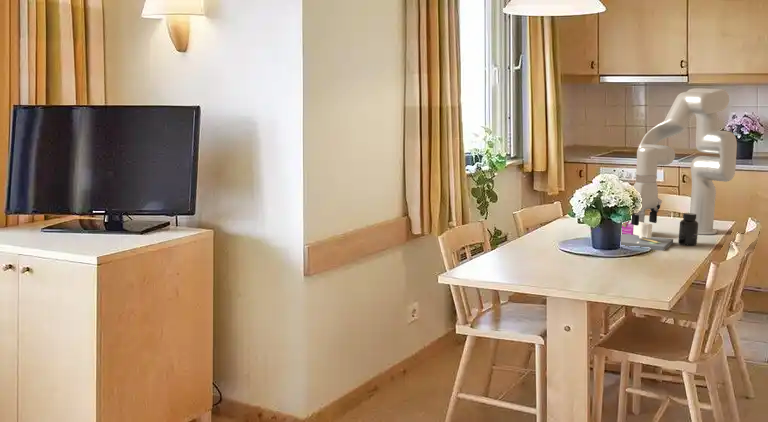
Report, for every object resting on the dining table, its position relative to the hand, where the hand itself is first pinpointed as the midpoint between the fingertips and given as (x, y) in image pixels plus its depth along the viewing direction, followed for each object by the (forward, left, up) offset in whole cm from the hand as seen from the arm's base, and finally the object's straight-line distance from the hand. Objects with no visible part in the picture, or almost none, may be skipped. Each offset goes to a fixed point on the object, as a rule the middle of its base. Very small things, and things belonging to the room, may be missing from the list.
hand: (643, 223), depth 343 cm
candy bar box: (-16, -9, -8) cm, 21 cm away
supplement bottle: (-9, +15, -8) cm, 19 cm away
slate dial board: (+1, 0, -8) cm, 8 cm away
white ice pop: (+2, +2, -6) cm, 6 cm away
